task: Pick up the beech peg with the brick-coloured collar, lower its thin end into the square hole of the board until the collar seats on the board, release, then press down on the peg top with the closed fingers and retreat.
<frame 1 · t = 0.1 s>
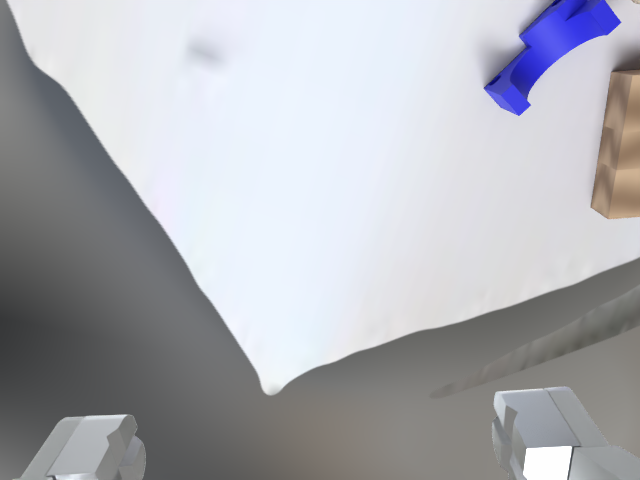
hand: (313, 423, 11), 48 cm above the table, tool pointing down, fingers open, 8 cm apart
cable clip: (530, 51, 52), on the table
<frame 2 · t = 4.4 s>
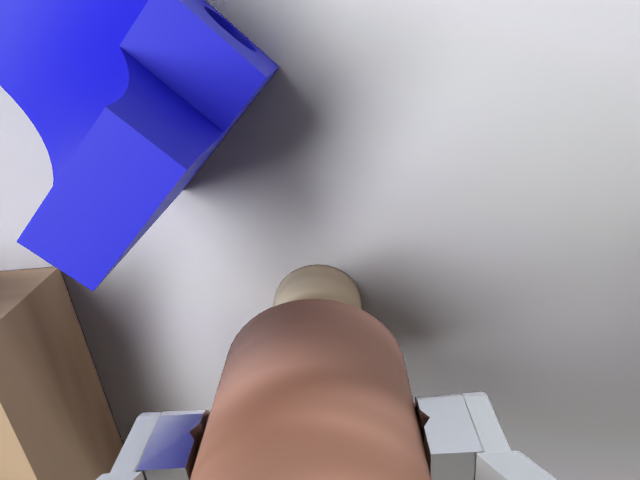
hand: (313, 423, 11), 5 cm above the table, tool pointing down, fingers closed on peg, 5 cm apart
peg: (317, 303, 15), on the table, touching gripper
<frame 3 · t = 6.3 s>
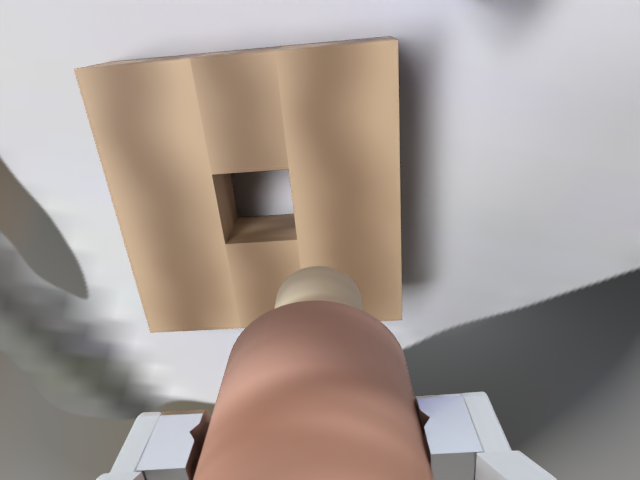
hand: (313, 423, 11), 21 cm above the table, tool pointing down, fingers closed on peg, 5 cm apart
board: (265, 184, 30), on the table
peg: (319, 304, 15), point 15 cm above the table, touching gripper
when the fingers open (7 cm above the table, at t = 8.7 s): peg stays where it is, resting on board.
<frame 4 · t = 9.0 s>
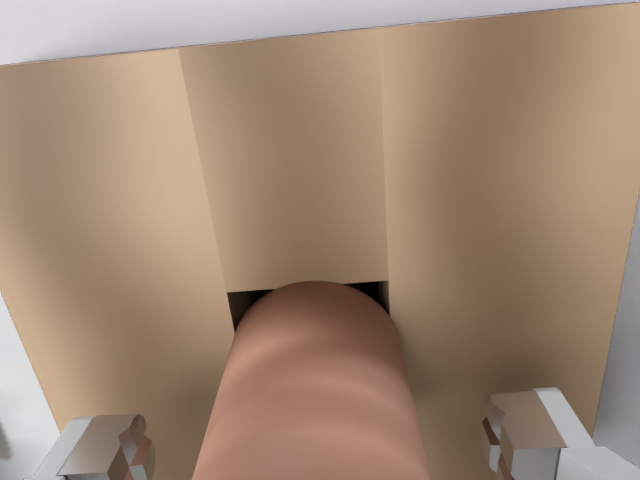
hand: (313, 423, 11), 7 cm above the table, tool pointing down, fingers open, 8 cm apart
board: (317, 281, 17), on the table
peg: (318, 289, 16), resting on board
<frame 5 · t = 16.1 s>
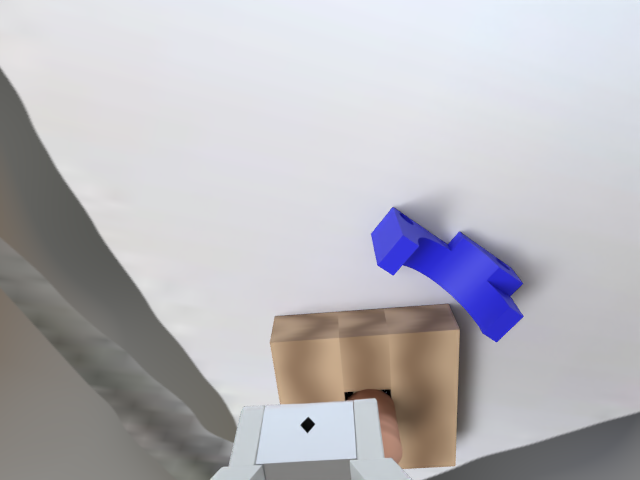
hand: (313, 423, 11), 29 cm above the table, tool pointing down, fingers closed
board: (365, 378, 47), on the table
peg: (366, 382, 46), resting on board
cable clip: (441, 249, 41), on the table
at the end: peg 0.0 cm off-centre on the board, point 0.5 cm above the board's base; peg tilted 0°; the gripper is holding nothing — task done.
